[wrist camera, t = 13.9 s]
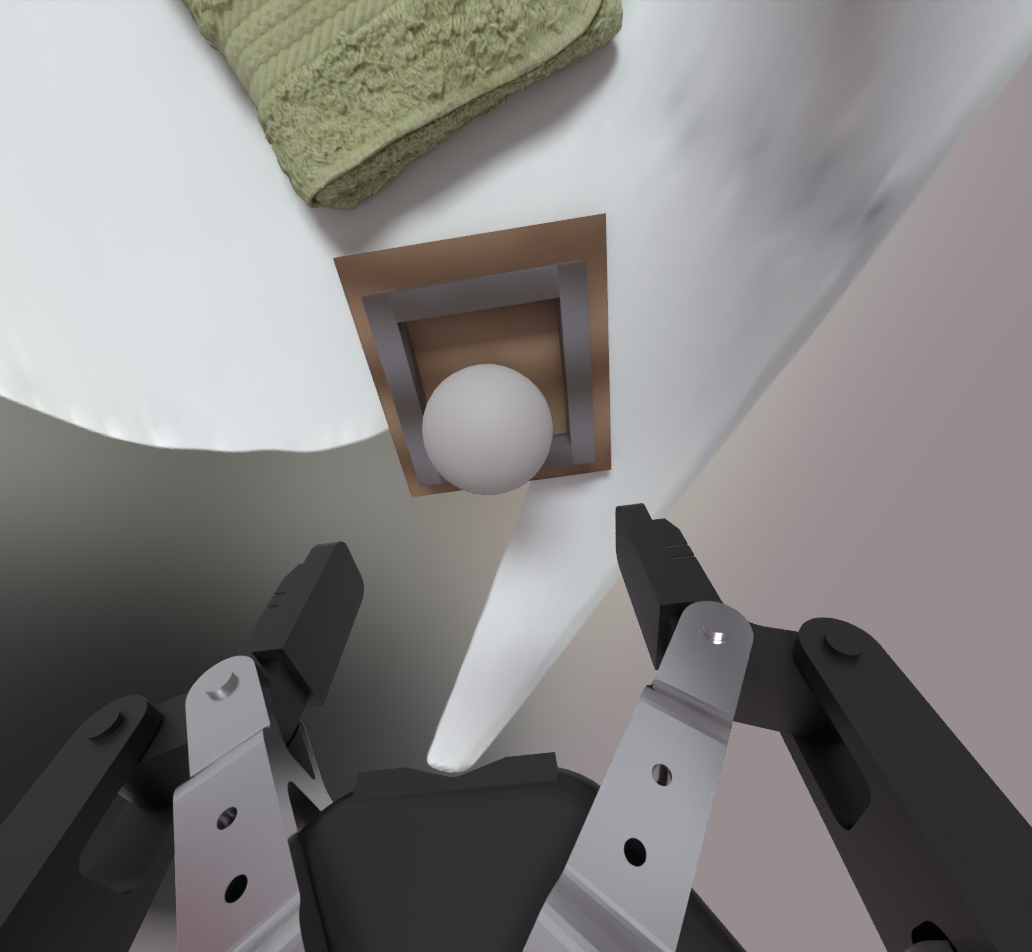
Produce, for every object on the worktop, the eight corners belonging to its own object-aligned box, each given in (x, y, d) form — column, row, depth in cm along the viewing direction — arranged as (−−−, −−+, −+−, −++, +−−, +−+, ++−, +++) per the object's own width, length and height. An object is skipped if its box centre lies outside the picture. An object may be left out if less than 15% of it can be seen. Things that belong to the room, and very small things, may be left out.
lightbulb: (435, 410, 27) (401, 505, 18) (453, 317, 24) (424, 370, 15) (523, 432, 28) (535, 533, 19) (551, 345, 25) (582, 412, 16)
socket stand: (339, 257, 23) (318, 260, 21) (601, 214, 22) (614, 211, 20) (414, 489, 31) (406, 512, 29) (608, 462, 31) (617, 484, 28)
